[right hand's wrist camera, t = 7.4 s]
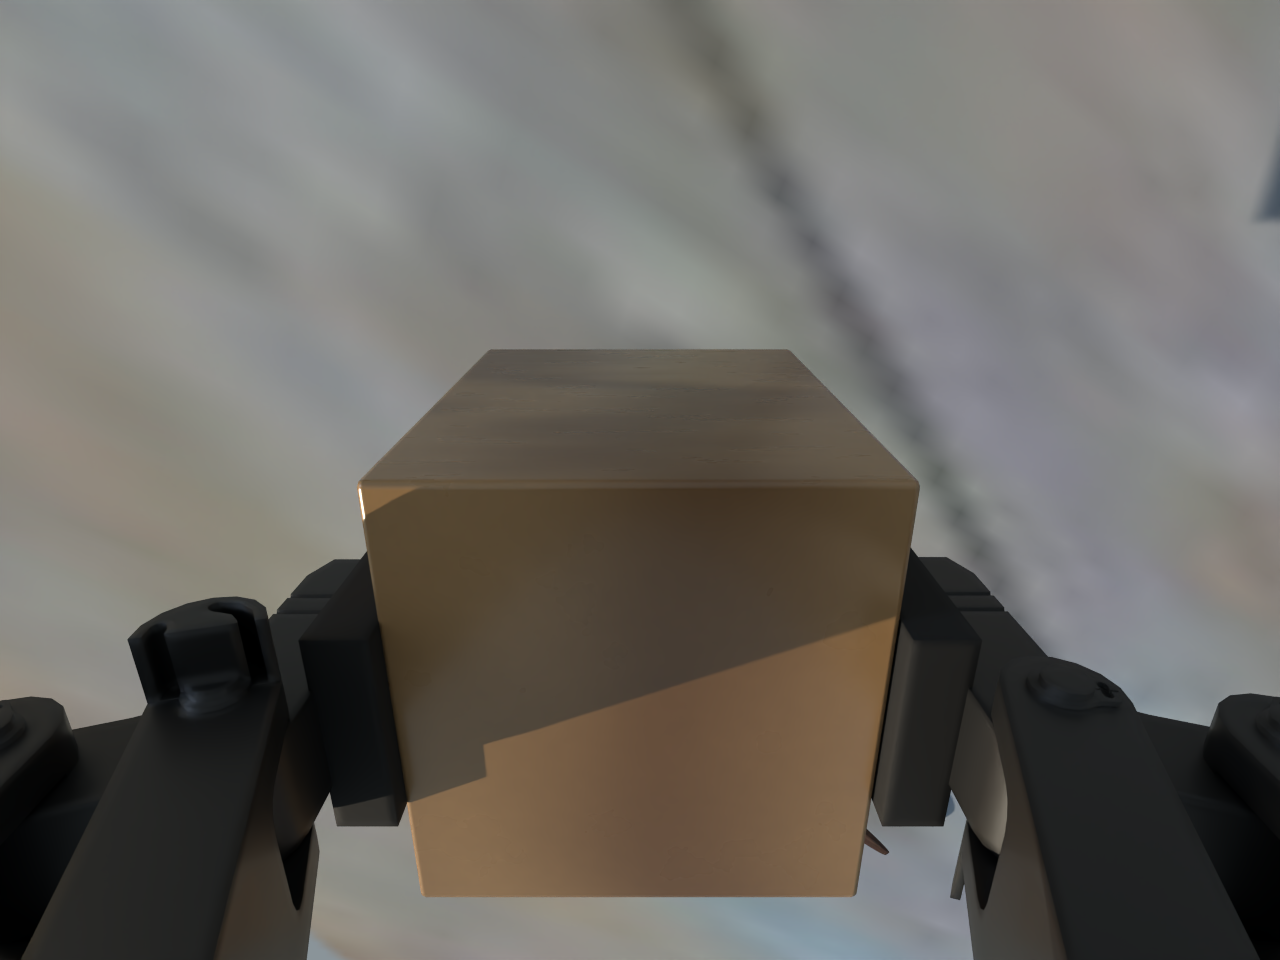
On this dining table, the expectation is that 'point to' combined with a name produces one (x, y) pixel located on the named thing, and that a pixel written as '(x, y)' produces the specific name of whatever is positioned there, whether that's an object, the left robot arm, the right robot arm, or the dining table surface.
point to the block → (638, 624)
